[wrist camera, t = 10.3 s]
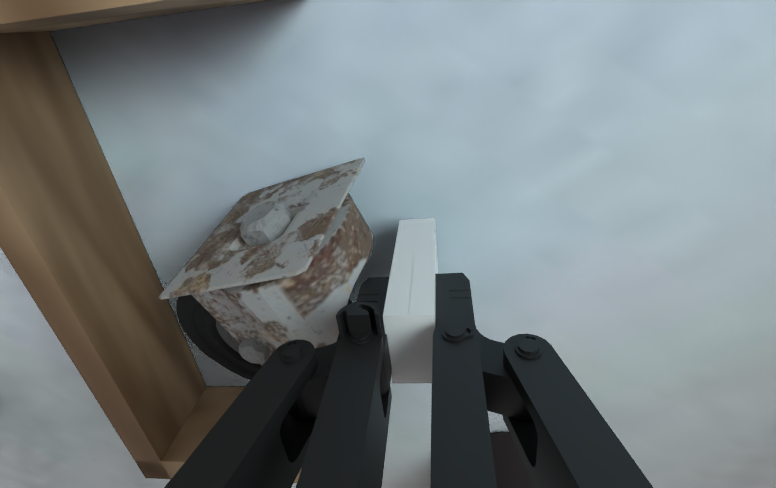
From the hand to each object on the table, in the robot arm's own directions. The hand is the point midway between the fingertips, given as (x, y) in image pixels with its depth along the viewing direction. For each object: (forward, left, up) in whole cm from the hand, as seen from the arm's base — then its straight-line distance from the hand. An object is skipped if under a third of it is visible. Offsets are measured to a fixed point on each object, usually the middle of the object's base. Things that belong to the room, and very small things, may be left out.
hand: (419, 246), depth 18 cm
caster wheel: (+6, +2, -2) cm, 7 cm away
